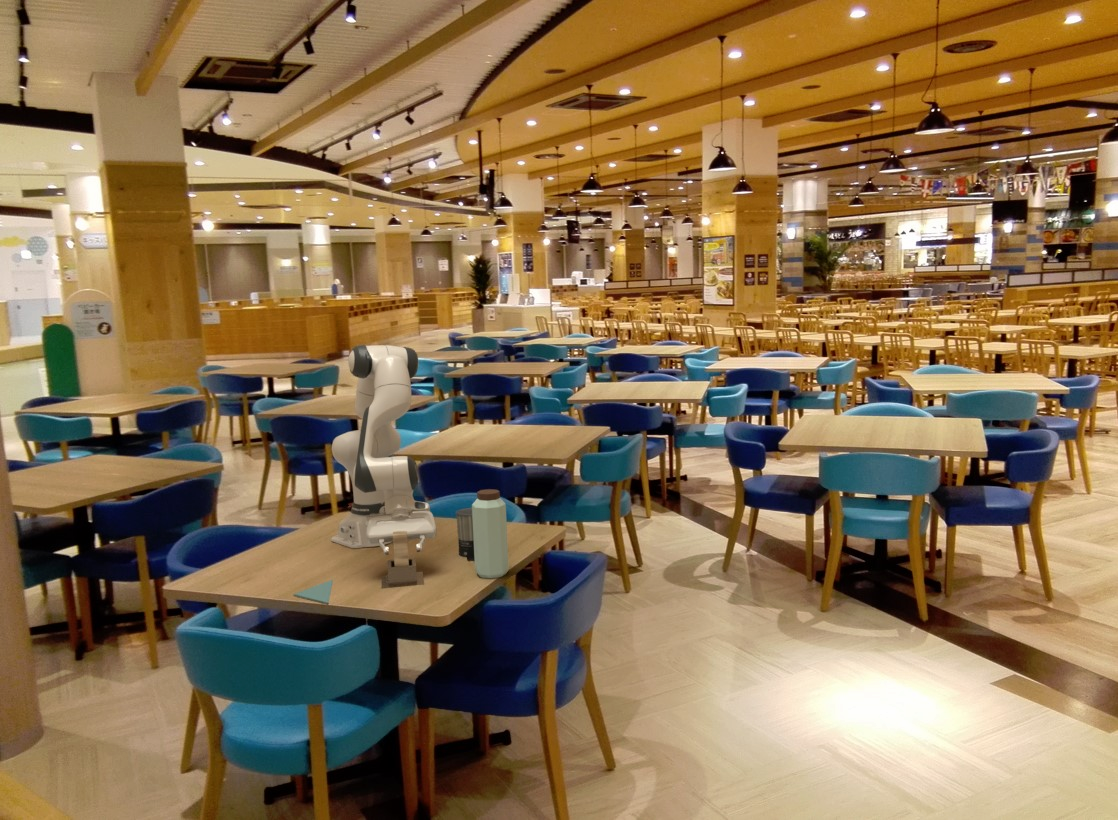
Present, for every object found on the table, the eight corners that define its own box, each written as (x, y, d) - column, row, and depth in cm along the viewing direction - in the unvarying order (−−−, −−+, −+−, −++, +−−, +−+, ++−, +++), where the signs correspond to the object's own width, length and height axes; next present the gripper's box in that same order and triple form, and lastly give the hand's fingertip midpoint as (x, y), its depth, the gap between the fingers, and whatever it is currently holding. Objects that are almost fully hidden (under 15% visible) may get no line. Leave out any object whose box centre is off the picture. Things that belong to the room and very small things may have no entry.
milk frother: (454, 560, 273) (452, 514, 271) (465, 546, 288) (463, 502, 286) (499, 560, 271) (497, 514, 269) (508, 546, 286) (506, 502, 284)
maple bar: (395, 578, 254) (392, 531, 252) (409, 577, 255) (406, 530, 253) (395, 582, 250) (392, 535, 248) (409, 581, 251) (406, 534, 249)
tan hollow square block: (381, 578, 257) (380, 559, 257) (422, 574, 260) (421, 555, 259) (381, 591, 246) (380, 571, 245) (424, 587, 248) (423, 567, 247)
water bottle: (477, 569, 263) (473, 488, 260) (510, 568, 263) (506, 487, 260) (473, 579, 253) (468, 496, 250) (507, 579, 253) (503, 495, 250)
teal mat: (293, 595, 245) (293, 594, 245) (337, 579, 258) (337, 577, 258) (332, 605, 236) (332, 603, 236) (375, 588, 249) (375, 586, 249)
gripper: (363, 508, 255) (365, 550, 247) (434, 503, 259) (437, 543, 251) (365, 519, 260) (366, 561, 252) (434, 514, 264) (437, 554, 256)
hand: (402, 552), depth 251 cm, fingers open, 8 cm apart
